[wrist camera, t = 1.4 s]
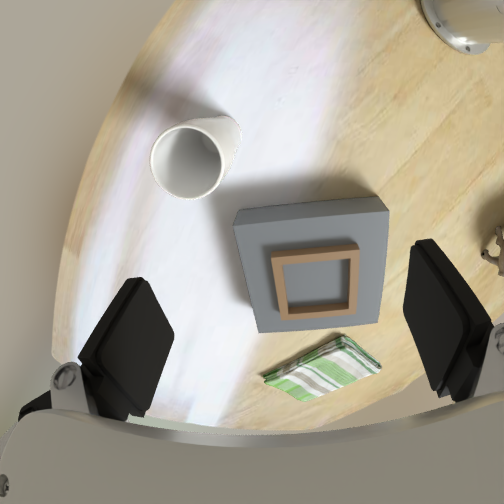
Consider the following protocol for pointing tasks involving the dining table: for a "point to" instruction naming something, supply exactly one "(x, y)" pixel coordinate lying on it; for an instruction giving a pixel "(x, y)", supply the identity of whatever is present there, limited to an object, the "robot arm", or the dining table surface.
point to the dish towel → (324, 370)
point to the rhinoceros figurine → (503, 259)
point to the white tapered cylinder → (195, 156)
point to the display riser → (314, 262)
